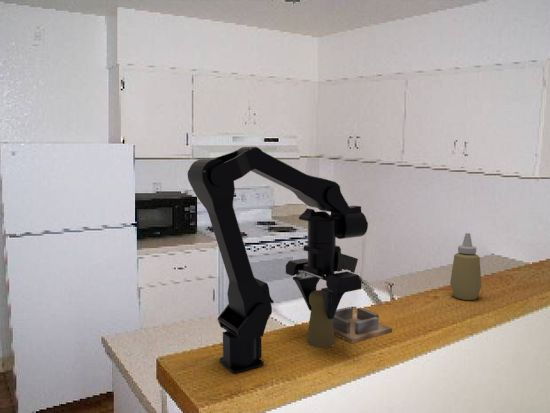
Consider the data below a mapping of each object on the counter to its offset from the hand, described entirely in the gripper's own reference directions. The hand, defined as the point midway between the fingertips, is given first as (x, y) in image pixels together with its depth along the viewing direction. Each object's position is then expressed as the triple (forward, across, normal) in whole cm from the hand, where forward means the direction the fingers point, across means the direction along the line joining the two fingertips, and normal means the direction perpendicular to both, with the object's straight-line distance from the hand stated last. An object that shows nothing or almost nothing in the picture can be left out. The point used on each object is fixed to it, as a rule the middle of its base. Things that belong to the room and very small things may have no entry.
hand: (321, 314), depth 97 cm
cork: (+6, 0, 0) cm, 6 cm away
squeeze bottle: (+6, +3, -53) cm, 53 cm away
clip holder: (+6, +2, -11) cm, 13 cm away
